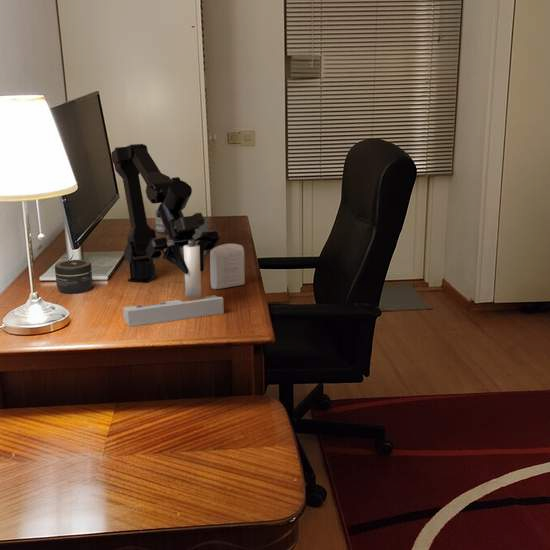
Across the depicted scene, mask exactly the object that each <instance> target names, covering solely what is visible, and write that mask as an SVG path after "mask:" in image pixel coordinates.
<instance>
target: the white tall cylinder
mask: <svg viewBox="0 0 550 550" xmlns="http://www.w3.org/2000/svg"><path fill="white" fill-rule="evenodd" d="M183 247H184V256H183V260H184V262H185V264H186V266H187V269H188V274H185V273H184V285H185V286H184V287H185V289H184V290H185V297H186V298H188V299H198V298H200V297H202V280H201V279H202V278H201V277H202V275H201V274H202V273H201V270H200V246H199V245H196V244H195V240H188V245H185V246H183Z"/></svg>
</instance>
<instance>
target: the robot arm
mask: <svg viewBox="0 0 550 550" xmlns="http://www.w3.org/2000/svg"><path fill="white" fill-rule="evenodd" d="M110 158H111V162H112V164H113V166H114V169H115V172H116V173H117V174H118V175H119V176H120V177H121V179H122V183H123V189H124V193H125V200H126V205H127V210H128V211H127V212H128V217H129V223H130V230H129V232H128V234H127V244H126V246H125V248H124V252H123V256H124V260H125V261H127V262H128V263H129V264H128V265H129V276H130V277H129V278H127V281H128V282H135V283H136V282H137V283H149V282H151V281H153V280H154V279H155V278H157V275H156V264H155V263H154V260H157V259H160V257H161V255H163V256H162V259H163V260H167V261H168V262H170V263H171V264H173V265H174V266H175V267H176V268H178V269H179V270H180V271H181V272H182V273H184V275H185V274H188V269H187V266H186V264H185V262H184V256H183V255H182V253H181V248H184V247H183V246H185V245H188V240H195V244H196V245H199V246H200V271H201V272H204V270H205V267H204V264H205V259H204V256H203V254H204V251H206V250H207V251H211V250H212V249H214V248H215V247H217V244H218V243H219V241H220V239H221V236H220V233H219V232H218V231H217V230H215V229H213V230H207V231H204V232H202V234H201V236H200V237H199V238H193V237H192V236H193V235H195V233H196V232H195V230H196V229H197V228H200V227H199V226H202V225H203V224H204V218H205V217H204V216H203V214H202V212H195V213H194V214H193V215H187V216H184V213H183V210H184V209H185V208H186V206H187V204H188V201H189V200H190V197H191V195H192V193H193V189H192V186H191V185H189V184H188V183H187V182H186V181H183V180H181V178H180V177H179V176H178V177H177V176H176V177H170V176H168V175H166V174H164V173H162V172H161V171H160V169H159V167H158V165H157V164H156V162H155V161H154V159H153V158H152V156H151V154H150V153H149V151H148V147H147V145H146V144H144V143H135V144H134V143H133V144H129V145H127V146H119V147H118V146H116V147H115V148H114V150H113V151H112V152H111V154H110ZM140 176H141V178H142V179H143V181H144V183H145V184H146V187H145V194H146V198H147V199H148V201H149V202H150V203H151V204H159V205H158V207H157V209H158V213H157V217H158V218H160V217H161V220H162V222H163V225H164V227H165V231H164V233H163V234H164V236H161V237H157V235H156V230H155V229H154V228H151V227H150V226H149V224H148V221H147V214H146V209H145V204H144V203H145V202H144V199H143V193H142V192H143V190H142V186H141V181H140ZM203 217H204V218H203ZM165 236H167V237H168V240H167V237H165Z"/></svg>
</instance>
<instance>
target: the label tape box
mask: <svg viewBox="0 0 550 550" xmlns="http://www.w3.org/2000/svg"><path fill="white" fill-rule="evenodd" d="M157 213H158V208H157V209H156V210H155V232H156V231H157V232H156V233H162V232H163V234H165V233H164V231H165V227H164V225H163V222H162V220H161V217H160V218H158V217H157Z"/></svg>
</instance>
